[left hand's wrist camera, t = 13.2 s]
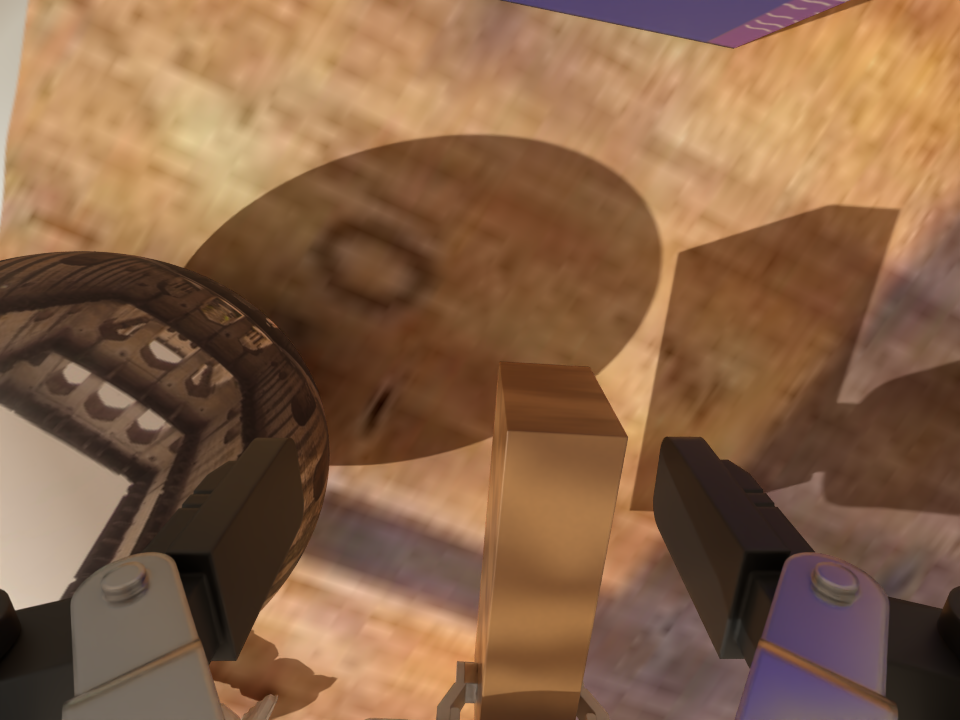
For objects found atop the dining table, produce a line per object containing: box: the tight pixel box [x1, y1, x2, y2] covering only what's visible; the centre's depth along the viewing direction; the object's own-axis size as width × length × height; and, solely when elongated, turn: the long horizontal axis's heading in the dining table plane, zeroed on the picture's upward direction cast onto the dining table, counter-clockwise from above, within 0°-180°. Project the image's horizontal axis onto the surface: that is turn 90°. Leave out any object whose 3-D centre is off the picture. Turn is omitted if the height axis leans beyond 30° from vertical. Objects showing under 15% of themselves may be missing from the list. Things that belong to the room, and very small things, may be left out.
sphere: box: [0, 251, 329, 611], centre depth 32 cm, size 25×25×25 cm
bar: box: [474, 362, 628, 720], centre depth 31 cm, size 24×5×8 cm, turn 176°
